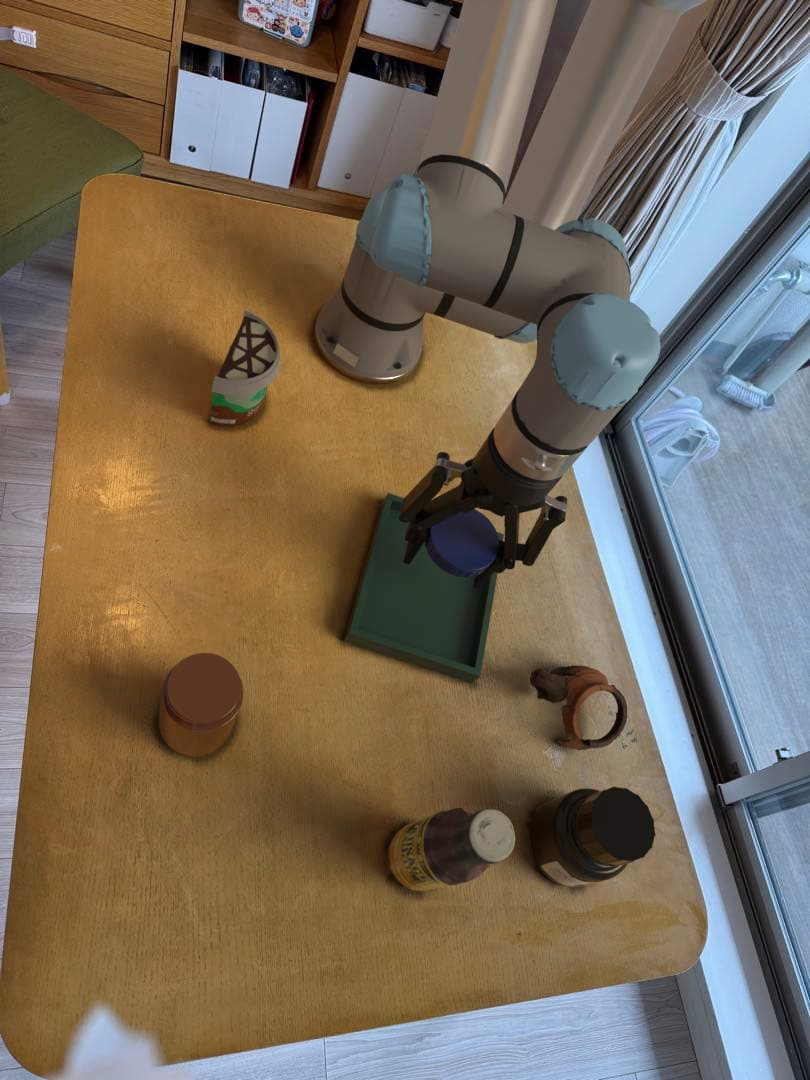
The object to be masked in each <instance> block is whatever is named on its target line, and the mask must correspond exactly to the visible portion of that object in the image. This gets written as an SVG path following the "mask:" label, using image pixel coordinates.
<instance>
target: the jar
mask: <svg viewBox="0 0 810 1080" xmlns="http://www.w3.org/2000/svg"><path fill="white" fill-rule="evenodd" d="M243 685H244V684H243V681H242V679H241V677H240V674H239V672H238V671H237V669H236V666H234V664H233V663H231V662H230V661H229V660H228V659H226V658H225V657H223V656H221V655H218V654H216V653H211V652H199V653H195V654H192V655H191V654H190V655H189V656H187V657H185V658H183V659H182V660H181V661H179V662H178V663H176V664H175V665H174V666H173V667H172V668H171V669H170V670H169V672H168V673H167V675H166V677H165V679H164V680H163V684H162V688H161V695H160V703H159V713H158V729H159V733H160V735H161V738H162V739H163V741H164V742H165V744H166V745H167V746H168V747H169V748H170V749H171V750H173V751H174V752H176V753H178V754H181V755H183V756H187V757H201V756H205V755H208V754H211V753H213V752H215V751H216V750H218V749H219V748H221V747H222V745H223V744H224V743H226V741H227V740H228V738H229V737H230V734H231V732H232V729H233V727H234V724H235V721H236V719H237V717H238V714H239V712H240V709H241V707H242V705H243V704H242V703H243V700H244V686H243Z"/></svg>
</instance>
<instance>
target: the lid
mask: <svg viewBox="0 0 810 1080" xmlns="http://www.w3.org/2000/svg"><path fill="white" fill-rule="evenodd" d="M497 532H498V531H497V528H496V527H495V526H494V524H493V522H492V521H491V520H490V519H489V518H488V517H487V516H486V515H485V514H483V513H482V512H481V511H479V510H477V509H476V508H475V509H473V510H471V511H469V512H467V513H464V512H463V511H462V512H460V513H458V514H456V515H454V516H452V517H450V518H448V519H446V520H444V521H442V522H440V523H438V524H436V525H434V526H432V527H430V529H429V534H428V537H427V539H426V540H425V545H426V549H427V551H428V554H429V556H430V557H431V559H432V560H433V562H434V563H435V564H436V565H437V566H438V567H439V568H440V569H442V570H444V571H445V572H447V573H448V574H451V575H454V576H457V577H466V578H467V577H473V576H475V577H476V576H477V575H479V574H481V573H483V572H484V571H485V570H486V569H487V568H489V567H490V565H491V564H492V563H493V561H494V559H495V558H496V556H497V554H498V551H499V537H498V534H497Z"/></svg>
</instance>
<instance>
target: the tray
mask: <svg viewBox="0 0 810 1080" xmlns="http://www.w3.org/2000/svg"><path fill="white" fill-rule="evenodd" d="M404 498H405V497H401V496H398V495H396V494H393V493H390V492H387V494H386V495H385V497H384V499H383V501H382V503H381V507H380V510H379V514H378V517H377V519H376V524H375V528H374V530H373V531H374V532H373V535H372V537H371V538H372V539H371V542H370V545H369V550H368V553H367V557H366V560H365V564H364V568H363V571H362V574H361V578H360V582H359V586H358V588H357V592H356V595H355V599H354V603H353V607H352V610H351V614H350V617H349V621H348V625H347V628H346V632H345V636H344V639H343V642H344V643H347V644H350V645H353V646H356V647H359V648H362V649H365V650H369V651H372V652H374V653H378V654H381V655H384V656H386V657H389V658H393V659H396V660H398V661H401V662H404V663H405V662H406V663H408V664H411V665H414V666H417V667H420V668H423V669H426V670H429V671H433V672H435V673H437V674H438V673H439V674H442V675H445V676H448V677H450V678H454V679H456V680H460V681H463V682H465V683H468V684H473V683H475V682H476V681H477V680H478V679H479V678H481V674H482V668H483V664H484V663H483V662H484V658H485V650H486V646H487V640H488V639H487V638H488V633H489V628H490V622H491V615H492V608H493V603H494V597H495V591H496V586H497V580H498V575H499V573H497V572H494V573H493V574H492V575H491V576H490V577H489V578H488V580H487V581H486V582H485V583H484V584H483V585H482V586H481V588H480V589H478V588H475V587H473V585H474V579H475V576H473V577H467V578H466V577H457V576H454V575H451V574H448V573H447V572H445V571H444V570H442V569H440V568H439V567H438V566H437V565H436V564H435V563H434V562H433V560H432V559H431V557H430V556H429V554H428V551H427V549H426V545H425V542H424V543H423V545H422V546H421V548H420V549H419V551H418V552H417V554H416V555H415V557H414V558H413V560H412V561H411V563H410V564H406V563H403V561H404V557H405V552H406V548H407V544H408V541H405V535H406V531H407V527H408V525H409V524H410V522H407V523H404V522H401V521H400V520H399V514H400V510H401V507H402V503H403V499H404ZM497 534H498V537H499V540H501V541H504V539H505V533H502V532H498V531H497Z"/></svg>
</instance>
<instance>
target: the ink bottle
mask: <svg viewBox="0 0 810 1080" xmlns="http://www.w3.org/2000/svg"><path fill="white" fill-rule="evenodd" d="M528 827H529V828H528V843H529V848H530V852H531V855H532V857H533V860H534V862H535V864H536V866H537V867H538V869H539V870H540V871H541V872H542V874H543V875H544V876H545V877H546V878H547V879H549V880H550V881H552V882H553V883H555V884H557V885H559V886H562V887H563V886H564V887H571V888H572V887H576V888H577V887H581V886H586V885H592V884H596V883H600V882H605V881H608V880H611V879H614V878H615V877H618V875H620V874H621V873H623V872H624V870H625V869H626V868H627V866H628V865H629V864H631V863H632V864H633V863H635V862H637V861H639V860H644V859H645V858H646V857H647V855H648V854H649V852H650V851H652V849H653V848H654V842H655V838H656V829H655V828H656V827H655V819H654V817H653V815H652V813H651V810H650V807H649V806H648V804H646V803H645V802H644V800H643V799H642V798H641V796H640V795H639V794H638V793H637V794H636V793H635V792H633V791H631V790H630V789H629V788H627V787H618V786H612V787H609V788H607V789H603V790H598V789H595V788H589V787H587V788H578V789H575V790H571V791H569V792H566V793H564V794H562V795H560V796H558V797H556V798H552V799H551V800H549V801H546V802H545V803H543V804H542V805H541V806H539V807H538V809H536V811H535V812H534V814H533V815H532V818H531V819H530V822H529V826H528Z"/></svg>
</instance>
